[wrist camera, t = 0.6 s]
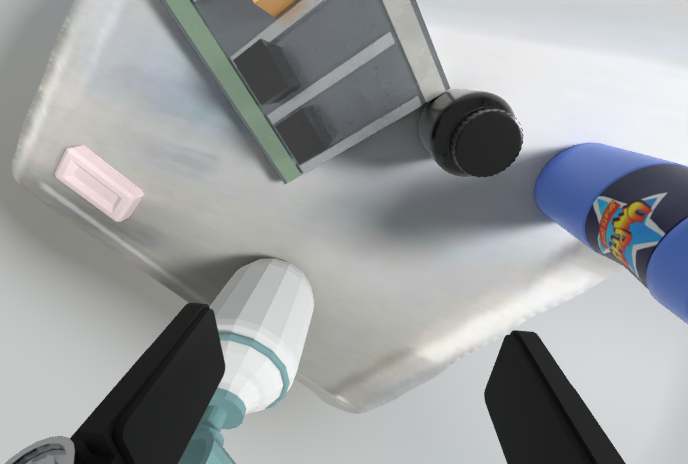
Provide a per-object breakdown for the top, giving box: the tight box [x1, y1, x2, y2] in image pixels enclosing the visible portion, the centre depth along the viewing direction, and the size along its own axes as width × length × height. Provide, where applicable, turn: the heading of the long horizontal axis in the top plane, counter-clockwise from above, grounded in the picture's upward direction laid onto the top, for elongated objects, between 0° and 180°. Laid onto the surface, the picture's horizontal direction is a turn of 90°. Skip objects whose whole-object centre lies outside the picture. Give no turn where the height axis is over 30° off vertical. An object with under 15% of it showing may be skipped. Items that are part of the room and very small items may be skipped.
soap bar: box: [55, 145, 144, 222], centre depth 38 cm, size 5×9×2 cm, turn 46°
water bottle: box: [534, 143, 688, 324], centre depth 22 cm, size 9×9×25 cm
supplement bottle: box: [418, 89, 523, 177], centre depth 26 cm, size 7×7×12 cm
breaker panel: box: [161, 0, 450, 184], centre depth 25 cm, size 20×25×7 cm
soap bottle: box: [178, 258, 314, 464], centre depth 30 cm, size 12×12×31 cm
